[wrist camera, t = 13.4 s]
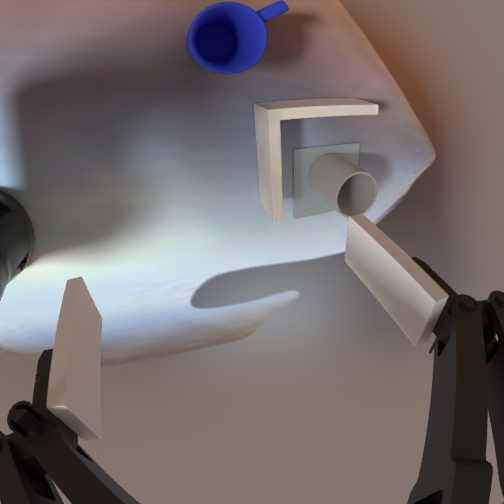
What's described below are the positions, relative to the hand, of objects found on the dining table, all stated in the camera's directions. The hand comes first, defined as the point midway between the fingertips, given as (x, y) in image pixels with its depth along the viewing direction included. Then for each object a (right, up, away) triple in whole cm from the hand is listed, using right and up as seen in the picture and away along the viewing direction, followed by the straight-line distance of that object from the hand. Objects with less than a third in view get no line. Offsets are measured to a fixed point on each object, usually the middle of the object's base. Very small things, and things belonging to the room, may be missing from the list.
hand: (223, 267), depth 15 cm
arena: (+10, +17, +32) cm, 38 cm away
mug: (-2, +29, +20) cm, 35 cm away
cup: (+14, +13, +37) cm, 41 cm away
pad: (+14, +13, +37) cm, 41 cm away
